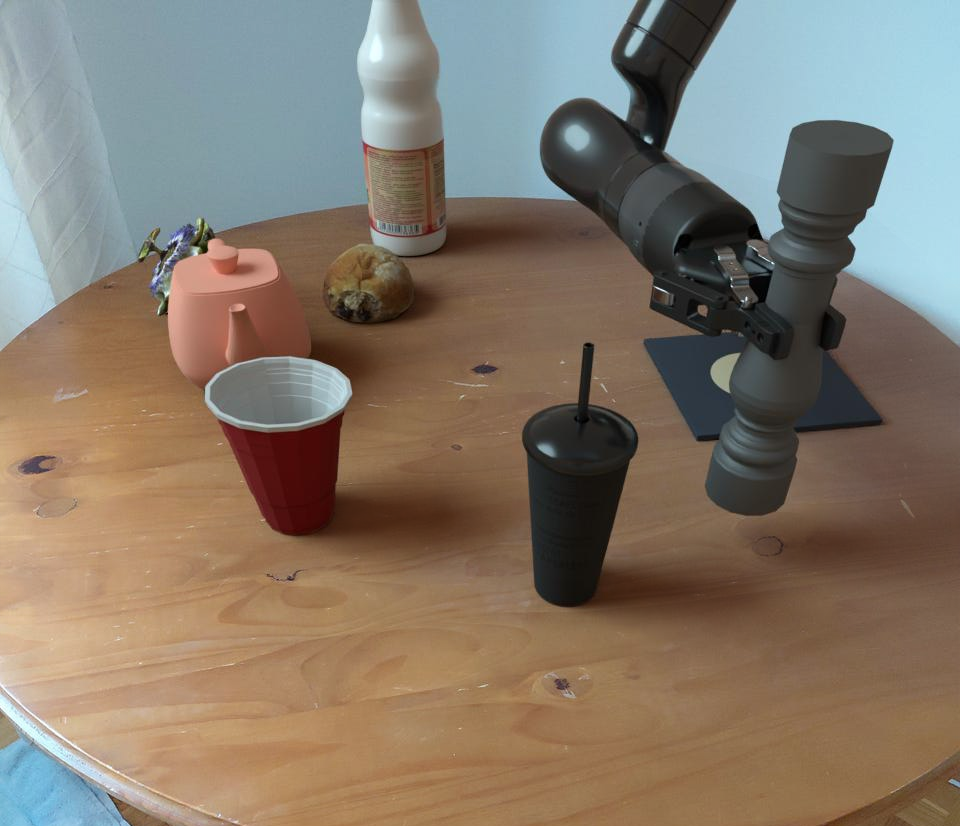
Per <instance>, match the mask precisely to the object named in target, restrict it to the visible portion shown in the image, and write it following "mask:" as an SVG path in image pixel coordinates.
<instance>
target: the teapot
mask: <svg viewBox="0 0 960 826" xmlns="http://www.w3.org/2000/svg"><path fill="white" fill-rule="evenodd" d="M207 242H208V252H207V253H205V254H200V255H196V256H192V257H188V258H185V259H183V260H181V261H179V262H177V264H176V265H175V266H174V270H173V274H172V280H171V287H170V294H169V303H168V314H167V328H168V337H169V344H170V348H171V352H172V356H173V358H174V361H175V363H176V365H177V367H178V368H179V370H180V372H181V373H182V374H183V375H184V376H185V378H186V379H187V380H188V381H190V383H192V384H193V385H194V386H195V387H197V388H199V389H203V390H205V386H206V385H207V384H208V383H209V382H210V381H211V379H212V378H213V377H214V376H215V375H216V374H217V373H219V372H221V371H223V370H225V369H227V368H229V367H231V366H233V365H235V364H237V363H241V362H246V361H250V360H254V359H259V358H265V357H297V358H304V359H310V358H309V357H310V355H311V352H312V341H311V340H312V339H311V333H310V329H309V325H308V321H307V317H306V314H305V312H304V308H303V305H302V304H301V301H300V299H299V297H298V295H297V293H296V291H295V288H294V287H293V285H292V283H291V282H290V280H289V278H288V277H287V275H286V274H285V272H284V270H283V268H282V267H281V266H280V264H279V262H278V261H277V260H276V258H275V257H274V255H273V254H272V253H271V252H270V251H268V250H266V249H262V248H236V247H235V246H231V245H227V244H226V242H225V241H224V240H222V239H221V238H216V239H212V240H208V241H207Z"/></svg>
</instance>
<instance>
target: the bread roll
mask: <svg viewBox="0 0 960 826" xmlns="http://www.w3.org/2000/svg"><path fill="white" fill-rule="evenodd" d="M414 286H415V285H414V281H413V277H412V274H411V272H410V269H409V267H407V266H406V264H405V263H404V262H403V260H402V259H401V258H400V257H398V255H395V254H394V253H392V252H391V251H390V250H388V249H386V248H383V247H381V246H377V245H374V244H368V243H359V244H357V245H355V246H352V247H351V248H348V249H347V250H346V251H344V252H342V253H341V254H340V255H339V256H337V258H336V260H334V261H333V262H332V263H331V264H330V267H329V268H328V270H327V271H326V273H325V276H324V280H323V289H322V299H323V301H324V302H323V303H324V304H325V306H326V308H327V309H328V310H329V311H330V313H332V315H334V316H336V315H337V316H336V317H338V316H339V317H338V318H340V317H341V318H340V319H342V318H343V319H342V320H344V319H345V320H344V321H349V322H351V323H355V322H361V323H360V324H368V322H372V323H379V322H383V321H388V320H394V319H396V318H398V316H399V315H400V314H402V313H403V312H405V311H407V310H408V309H409V307H410V306H411V305H412V303H413V301H414V293H415V287H414ZM387 319H388V320H387ZM382 320H383V321H382ZM378 321H379V322H378Z"/></svg>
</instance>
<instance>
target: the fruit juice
mask: <svg viewBox="0 0 960 826" xmlns="http://www.w3.org/2000/svg"><path fill="white" fill-rule="evenodd" d="M358 48H359V49H358V52H357V57H356V70H357V76H358V80H359V82H360V86H361V88H362V92H363V101H362V105H361V110H360V131H361V140H362V141H361V142H362V151H363V162H364V173H365V184H366V194H367V196H366V197H367V207H368V216H369V217H368V219H369V228H370V236H371V240H372V244H373V245H377V246H381V247H383V248H386V249H388V250H390V251H391V252H392V253H394V254H395V255H396V256H397V257H398V256H399V257H416V256H422V255H427V254H430V253H433V252H435V251H437V250H439V249H440V248H441V247H442V246H443V245H445V242H446V240H447V239H446V238H447V204H446V203H447V202H446V201H447V200H446V171H445V170H446V169H445V167H446V166H445V132H444V131H445V130H444V129H445V128H444V118H443V117H444V116H443V109H442V106H441V103H440V101H439V98H438V88H439V82H440V76H441V58H440V54H439V50H438V48H437V46H436V44H435V42H434V41H433V39H432V37H431V34H429V30H428V27H427V25H426V22H425V20H424V16H423V13H422V10H421V6H420V3H419V0H372V1H371V6H370V13H369V17H368V21H367V26H366V30H365V35H364V37H363V39H362V41H361V44H360V46H359V47H358Z"/></svg>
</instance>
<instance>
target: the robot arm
mask: <svg viewBox="0 0 960 826" xmlns="http://www.w3.org/2000/svg"><path fill="white" fill-rule="evenodd" d="M737 2H738V0H636V2H635V4H634V6H633V8H632V10H631V11H630V13H629V15H628V17H627V19H626V22H625V23H624V24H623V26H622V28H621V29H620V32H619V34H618V36H617V38H616V40H615V41H614V44H613V46H612V49H611V53H610V61H611V62H610V63H611V65H612V68H613V69H614V70H615V72H616V74H617V75H618V76H619V77H620V79H621V81H623V82H624V84H625V86H626V87H627V89H628V91H629V96H630V97H629V102H628V103H629V105H628V110H627V115H626V118H625V120H624V119H623V118H622V117H620V116H619V115H618V114H616V113H615V112H614V111H612V110H611V109H609V108H608V107H606V106H605V105H604V104H602V103H601V102H599V101H598V100H596V99H594V98H590V97H576V98H572V99H569V100H567V101H565V102H563V103H562V104H561V105H559V106H558V107H556V109H555V110H554V111H553V112H552V113H551V114H550V116H549V117H548V118H547V120H546V122H545V124H544V126H543V129H542V131H541V135H540V141H539V159H540V164H541V166H542V169H543V172H544V174H545V176H546V177H547V178H548V179H549V180H550V181H551V182H552V183H553V184H554V185H555V186H556V187H557V188H559V189H560V190H561V191H563V192H564V193H565V194H567V195H568V196H569V197H571V198H572V199H573V200H575V201H576V202H578V203H579V204H580V205H582V206H584V207H586V208H587V209H588V210H590V211H591V212H592V213H594V214H595V215H596V216H597V217H598V218H599V219H600V220H601V221H602V222H603V223H604V224H605V225H606V226H607V228H608V229H609V230H610V232H612V233H613V234H614V235H615V236H616V237H617V238H618V240H620V241H621V242H622V243H623V244H624V245H625V246H626V247H627V248H628V250H629V252H630V253H631V255H632V256H633V257H634V258H635V260H636V261H637V262H638V263H639V264H640V265H641V266H642V267H643V268H644V269H645V270H646V271H647V272H648V273H649V274H650V275H651V276H652V277H653V278H652V279H653V280H652V285H651V293H650V299H649V300H650V301H649V309H650V310H652V311H654V312H656V313H658V314H660V315H662V316H664V317H667V318H669V319H671V320H672V321H675V322H678V323H679V324H682V325H684V326H686V327H688V328H690V329H692V330H694V331H697V332H698V333H700V334H705V335H707V336H711V337H717V336H720V335H721V334H722V333H723V331H730V332H732V333H733V334H734V335H735V336H738V337H746V338H747V339H748V340H749V341H750V342H751V343H753V345H754V346H756V347H757V348H758V349H759V350H760V351H761V352H763V353H765V354H768V355H769V356H770V357H771V358H772V359H774V360H781V359H786V358H787V357H788V356H789V352H790V349H791V345H792V341H793V338H794V329H793V327H792V326H791V325H790V324H789V323H788V322H787V321H785V320H784V319H783V318H782V317H781V316H780V315H778V314H777V313H776V312H774V311H773V310H772V309H770V308H769V307H768V305H767V304H766V303H765V302H766V298H767V294H768V290H769V286H770V282H771V278H772V274H773V269H774V263H773V259H772V258H771V256H770V255H769V253H768V243H769V241H765V240H764V238H763V235H762V232H761V230H760V226H759V223H758V221H757V219H756V217H755V215H754V213H753V212H752V211H751V210H750V209H749V208H748V207H746V206H745V205H744V204H742V203H741V202H740V201H739V200H737V198H735V197H733V196H732V195H730V194H729V193H728V192H727V191H726V190H724V189H723V188H721V187H720V186H719V185H717V184H716V183H715V182H714V181H711V179H709V178H707V177H706V176H705V175H704V174H702V173H701V172H699V171H697V170H694V169H693V168H689V167H687V166H686V165H684V164H683V163H682V162H680V161H679V160H677V158H675V157H674V156H672V155H671V154H669V153H668V152H666V148H667V144H668V142H669V138H670V136H671V132H672V130H673V126H674V124H675V121H676V118H677V115H678V112H679V109H680V106H681V104H682V101H683V97H684V95H685V92H686V90H687V87H688V85H689V83H690V82H691V81H692V78H694V75H695V74H696V71H698V69H699V68H700V66H701V64H702V62H703V60H704V59H705V57H706V55H707V54H708V52H709V50H710V49H711V46H712V45H713V44H714V42H715V40H716V38H717V37H718V35H719V33H720V32H721V29H722V28H723V26H724V25H725V23H726V21H727V20H728V18H729V16H730V14H731V13H732V11H733V8H734V7H735V5H736V3H737ZM838 281H839V279H838V276H836V278H835V281H834V285H833V288H832V291H831V295H830V298H829V301H828V305H827V308H826V311H825V314H824V318H823V324H822V332H821V339H820V347H821V348H822V349H823V350H825V351H827V352H828V351H833V350H837V349H838V348H839V346H840V343H841V340H842V337H843V334H844V331H845V328H846V323H847V318H846V316H845V315H844V314H843V313H842V312H840V311H839V310H838V309H836V308H835V307H834V306H833V305H831V302H832V298H833V294H834V292H835V289H836V287H837V284H838ZM700 306H705V307H706V309H707V310H706V316H705V315H702V314H701V313H700V312H699V307H700Z"/></svg>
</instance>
